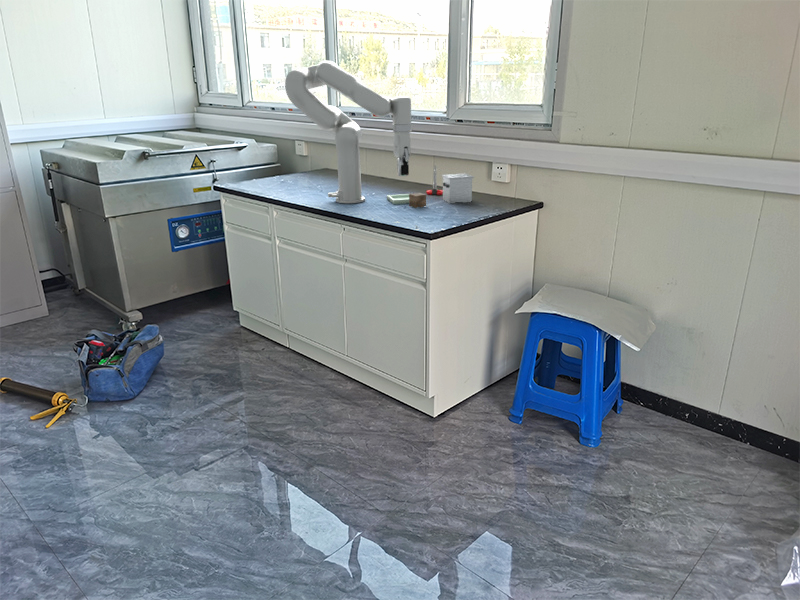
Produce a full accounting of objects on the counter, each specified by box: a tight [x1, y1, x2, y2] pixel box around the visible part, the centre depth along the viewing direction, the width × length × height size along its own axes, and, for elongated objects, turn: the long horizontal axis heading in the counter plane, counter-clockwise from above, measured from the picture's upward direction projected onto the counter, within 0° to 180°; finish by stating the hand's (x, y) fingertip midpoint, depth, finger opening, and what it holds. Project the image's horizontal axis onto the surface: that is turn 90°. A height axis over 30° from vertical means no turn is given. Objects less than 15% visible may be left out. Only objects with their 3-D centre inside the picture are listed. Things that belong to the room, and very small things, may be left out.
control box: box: [441, 172, 474, 204], centre depth 245 cm, size 11×9×11 cm
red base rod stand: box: [425, 165, 443, 196], centre depth 261 cm, size 8×13×9 cm
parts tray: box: [386, 193, 410, 205], centre depth 247 cm, size 11×11×2 cm
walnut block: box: [408, 192, 427, 209], centre depth 237 cm, size 5×5×5 cm
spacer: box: [397, 158, 409, 177], centre depth 242 cm, size 4×4×7 cm
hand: (403, 173), depth 243 cm, fingers closed on spacer, 4 cm apart
